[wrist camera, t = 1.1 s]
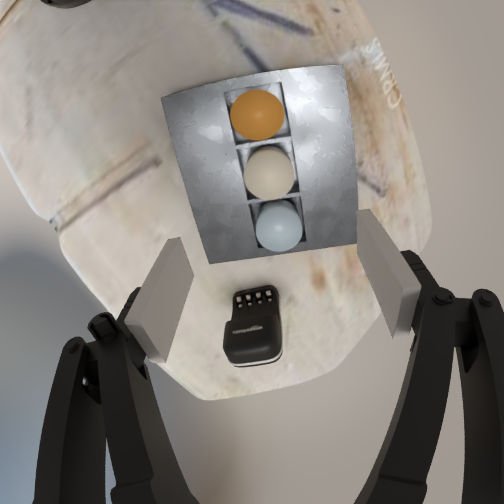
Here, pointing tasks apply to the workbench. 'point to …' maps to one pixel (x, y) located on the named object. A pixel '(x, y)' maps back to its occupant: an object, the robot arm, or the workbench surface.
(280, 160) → the ivory button
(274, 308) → the battery charger
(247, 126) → the orange button
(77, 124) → the workbench surface
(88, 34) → the workbench surface
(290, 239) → the pale blue button
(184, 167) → the panel
